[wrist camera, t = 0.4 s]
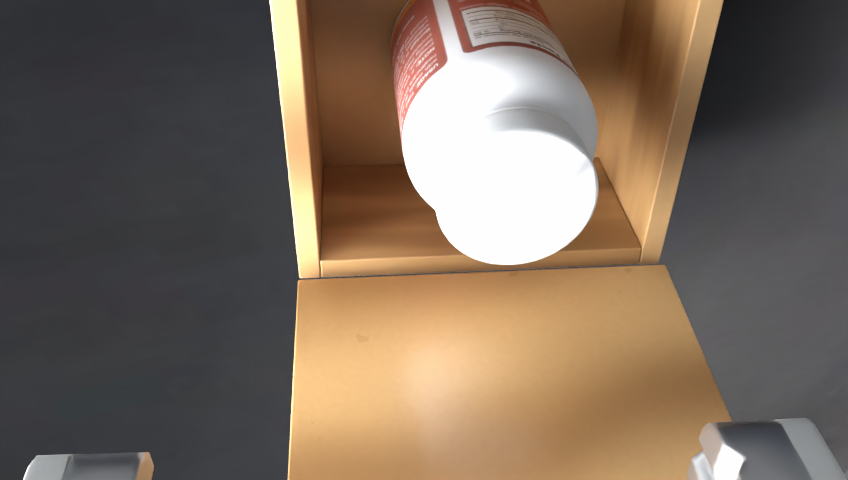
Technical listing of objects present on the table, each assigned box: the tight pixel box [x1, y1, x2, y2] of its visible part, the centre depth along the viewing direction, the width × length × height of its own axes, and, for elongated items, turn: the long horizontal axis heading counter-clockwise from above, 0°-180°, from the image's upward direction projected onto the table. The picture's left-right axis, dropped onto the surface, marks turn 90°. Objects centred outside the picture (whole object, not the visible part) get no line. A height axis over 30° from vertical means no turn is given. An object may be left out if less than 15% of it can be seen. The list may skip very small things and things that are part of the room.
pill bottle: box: [390, 0, 599, 265], centre depth 27 cm, size 6×6×11 cm
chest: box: [270, 0, 724, 278], centre depth 29 cm, size 13×14×7 cm
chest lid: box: [288, 265, 732, 480], centre depth 26 cm, size 13×14×4 cm
